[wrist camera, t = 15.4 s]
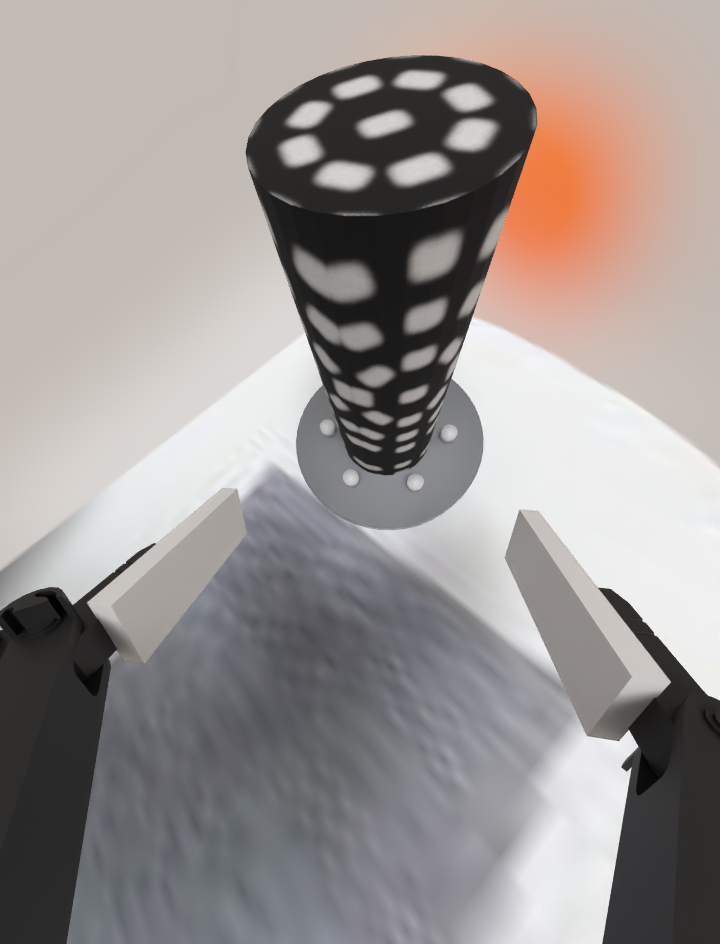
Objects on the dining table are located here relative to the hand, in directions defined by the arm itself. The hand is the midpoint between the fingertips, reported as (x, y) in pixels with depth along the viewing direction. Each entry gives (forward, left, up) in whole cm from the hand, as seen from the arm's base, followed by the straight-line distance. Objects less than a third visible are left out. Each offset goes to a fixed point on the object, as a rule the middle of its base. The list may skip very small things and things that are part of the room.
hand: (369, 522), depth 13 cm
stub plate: (0, +10, -13) cm, 16 cm away
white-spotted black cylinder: (0, +10, -11) cm, 15 cm away
